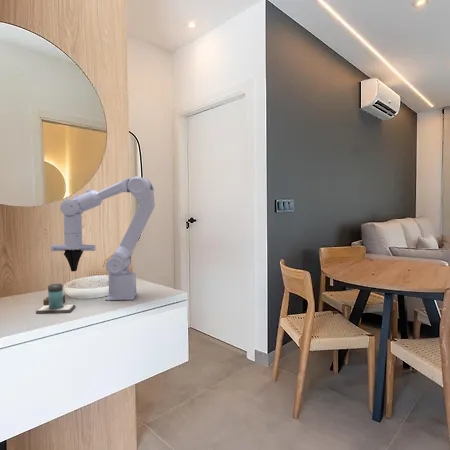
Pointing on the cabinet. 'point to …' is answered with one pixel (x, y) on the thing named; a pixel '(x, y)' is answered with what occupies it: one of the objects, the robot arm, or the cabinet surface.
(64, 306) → the drawing pad
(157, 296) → the cabinet surface
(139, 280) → the cabinet surface
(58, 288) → the cylinder
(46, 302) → the button collar
